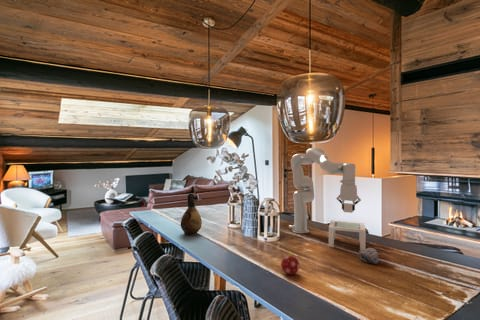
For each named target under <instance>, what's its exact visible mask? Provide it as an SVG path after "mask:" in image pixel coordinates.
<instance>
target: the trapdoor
mask: <svg viewBox="0 0 480 320" xmlns="http://www.w3.org/2000/svg"><path fill="white" fill-rule="evenodd" d="M344 222H345V221H344ZM344 222H336V224H335V227H346V228H357V229H359V224H355V223H344Z"/></svg>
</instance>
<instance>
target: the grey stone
mask: <svg viewBox="0 0 480 320" xmlns="http://www.w3.org/2000/svg"><path fill="white" fill-rule="evenodd" d="M352 205H353V203H350V202H349V203H348V202H344V211H343V213H350V214H353V211H352Z"/></svg>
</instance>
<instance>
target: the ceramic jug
mask: <svg viewBox="0 0 480 320" xmlns="http://www.w3.org/2000/svg"><path fill="white" fill-rule="evenodd" d="M198 201H199V198H198V196H195V195H194V193H192V192H190V193H188V195H187V209H186V210H185V212H184V213H183V215H182V216H181V220H180V228H181V230H182V231H183V234H184V236H187V237H193V236H196V235H197V234H198V233H199V231H200V230H201V228H202V224H203V223H202V217H201V214H200V212H199V211H198V209H197V208H196V206H195V202H198Z"/></svg>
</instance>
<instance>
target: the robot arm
mask: <svg viewBox="0 0 480 320" xmlns="http://www.w3.org/2000/svg"><path fill="white" fill-rule="evenodd" d="M315 163H316V164H317V165H319V166H320V169H322V170H323V171H324V172H326V173H328V174H331V175H342V180H341V179H340V181H339V182H340V183H341V185H340V190H339V194H338V195H337V197H336V200H337V202H339V203H340V204H341V210H342V211H343V212H344V203H345V201H349V202H350V201H351V202H352V204H353V205H352V213H353V212H354V211H355V210H356V205H358V204H359V202H361V201H362V199H361V198H360V197H359V195H358V188H357V184H356V164H355V163H345V162H332V161H330V160H329V156H328V155H327V154H326V153H325V151H324V149H323V148H319V147H317V148H316V147H310V148H308V149H307V150H306V151H305V153H296V154H293V156H292V157H291V159H290V167H291V171H292V182H293V186H294V188H295V189H299V190H296V191H294V193H293V194H292V199H293V206H294V207H293V211H294V213H293V214H294V217H293V219H294V220H293V221H294V222H293V225H291V224H288V228H289V229H291V231H292V232H293V233H295V234H296V233H297V234H308V233H309V232H310V230H309V229H308V207H307V205H306V203H311V202H313V201H314V200H315V189H314V182H313V179H312V177H310V176H307V175H305V174H304V172H305V171H304V169H303V167H302V165H303V166H304V165H306V166H307V165H313V164H315Z"/></svg>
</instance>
